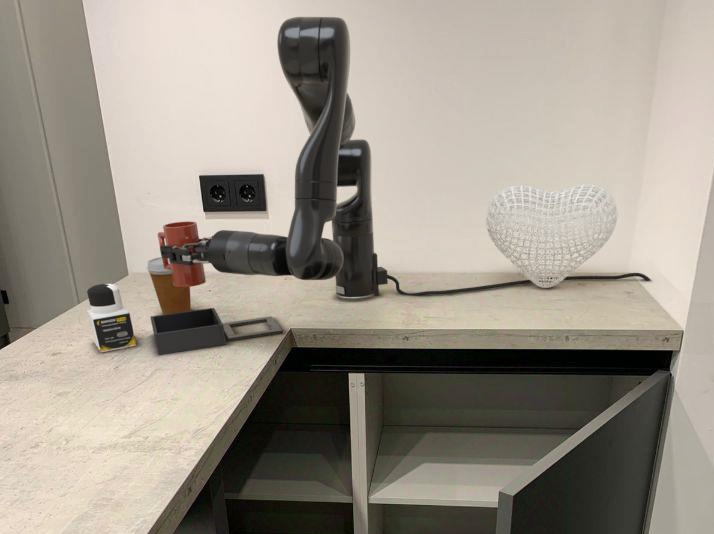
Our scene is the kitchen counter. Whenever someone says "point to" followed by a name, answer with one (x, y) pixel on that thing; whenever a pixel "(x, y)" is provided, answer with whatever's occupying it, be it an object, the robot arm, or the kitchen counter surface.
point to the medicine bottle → (109, 318)
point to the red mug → (179, 237)
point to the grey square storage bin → (187, 331)
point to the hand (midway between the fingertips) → (174, 247)
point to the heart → (551, 196)
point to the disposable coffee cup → (168, 289)
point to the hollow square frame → (232, 336)
